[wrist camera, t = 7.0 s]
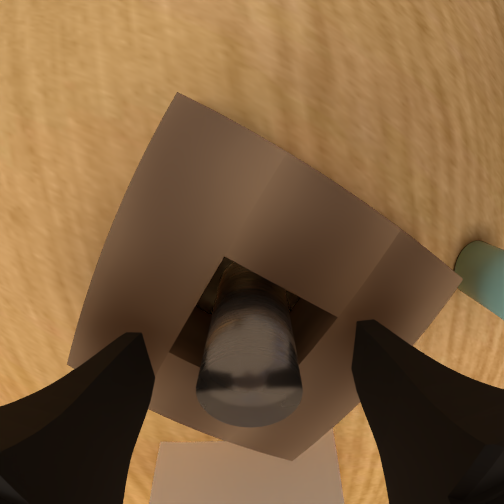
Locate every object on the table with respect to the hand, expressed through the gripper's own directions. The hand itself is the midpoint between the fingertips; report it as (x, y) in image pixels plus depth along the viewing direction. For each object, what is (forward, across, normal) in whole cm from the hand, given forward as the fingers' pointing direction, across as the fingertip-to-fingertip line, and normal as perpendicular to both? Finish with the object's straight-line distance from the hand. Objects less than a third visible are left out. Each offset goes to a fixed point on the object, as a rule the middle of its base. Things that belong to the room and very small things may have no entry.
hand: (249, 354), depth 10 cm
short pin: (+5, -12, 0) cm, 13 cm away
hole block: (+5, 0, 0) cm, 5 cm away
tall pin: (+5, 0, 0) cm, 5 cm away
